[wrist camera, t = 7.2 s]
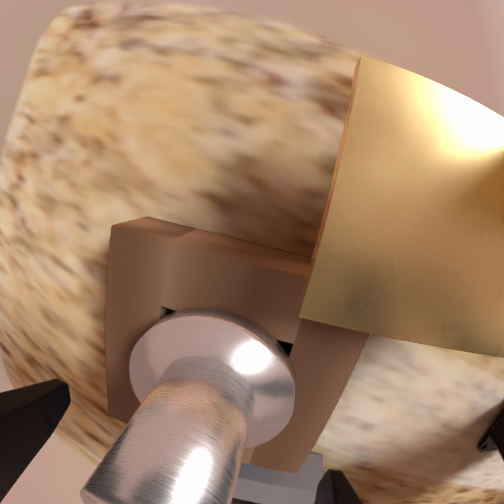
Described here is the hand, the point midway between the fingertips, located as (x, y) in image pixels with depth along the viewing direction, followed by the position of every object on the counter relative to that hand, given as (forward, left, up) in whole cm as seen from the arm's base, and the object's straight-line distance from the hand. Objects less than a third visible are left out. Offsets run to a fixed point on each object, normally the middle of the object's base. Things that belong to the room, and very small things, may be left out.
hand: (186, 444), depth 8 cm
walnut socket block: (0, 0, -7) cm, 7 cm away
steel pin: (0, 0, -7) cm, 7 cm away
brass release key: (-6, -8, -2) cm, 11 cm away
